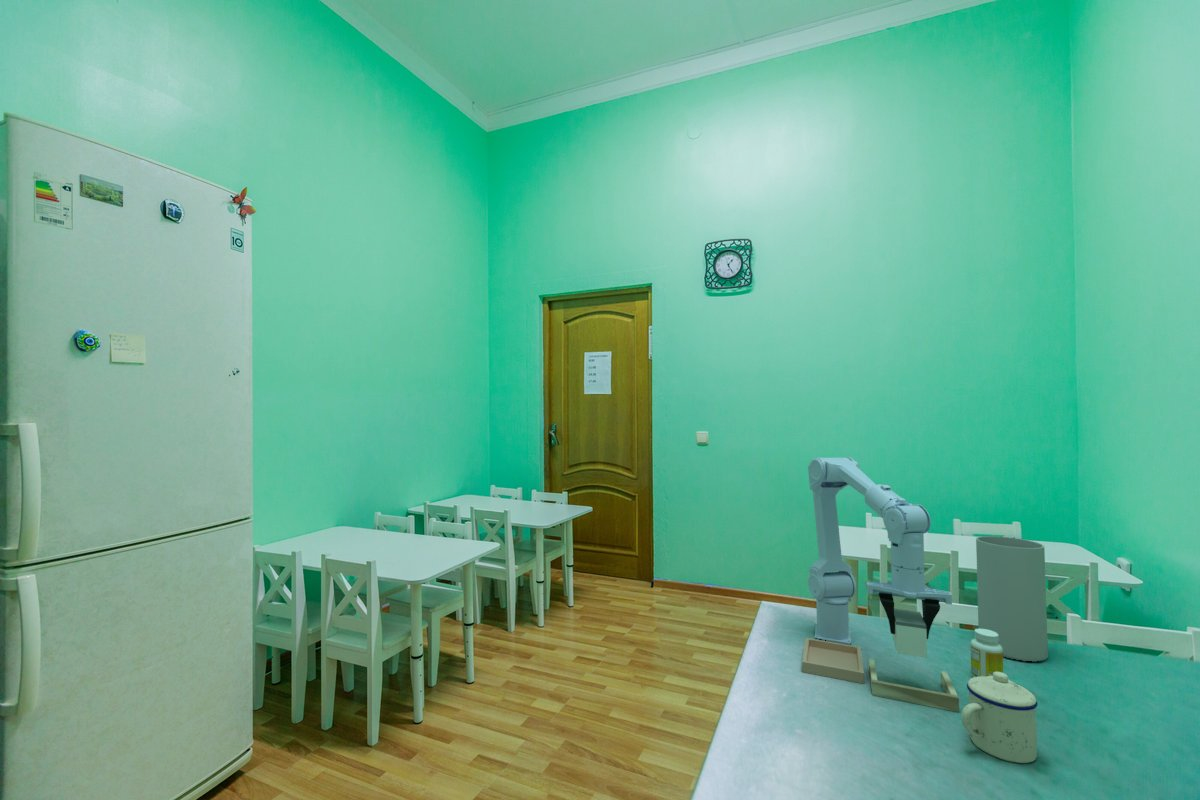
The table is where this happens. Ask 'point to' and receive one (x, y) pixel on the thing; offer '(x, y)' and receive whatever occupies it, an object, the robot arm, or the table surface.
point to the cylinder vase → (1013, 595)
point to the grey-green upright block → (910, 633)
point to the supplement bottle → (986, 653)
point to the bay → (916, 692)
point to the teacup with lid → (1001, 718)
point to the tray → (833, 660)
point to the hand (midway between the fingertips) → (908, 634)
